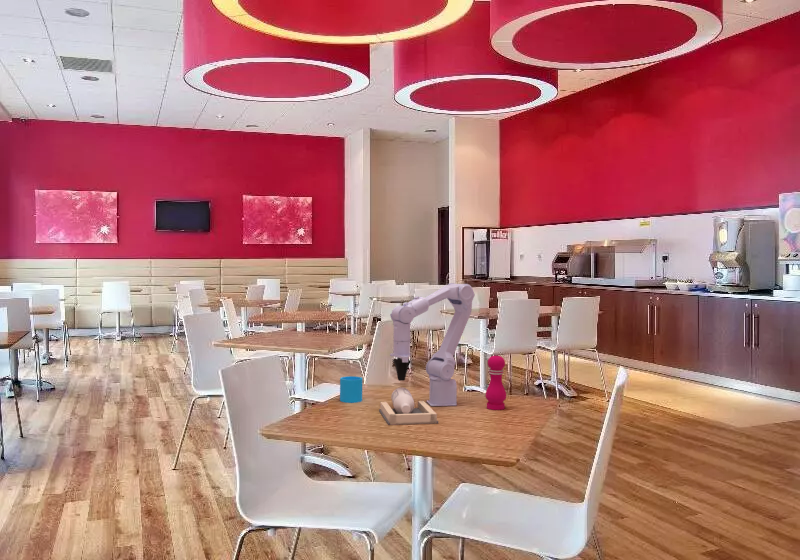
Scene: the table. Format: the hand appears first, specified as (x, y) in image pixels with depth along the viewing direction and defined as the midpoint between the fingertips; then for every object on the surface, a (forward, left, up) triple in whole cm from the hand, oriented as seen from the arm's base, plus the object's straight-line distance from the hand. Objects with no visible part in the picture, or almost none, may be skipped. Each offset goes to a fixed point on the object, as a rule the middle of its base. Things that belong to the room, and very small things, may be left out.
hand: (401, 380), depth 235 cm
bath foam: (0, -1, -6) cm, 6 cm away
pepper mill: (-33, +3, -10) cm, 35 cm away
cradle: (0, +12, -10) cm, 16 cm away
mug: (+15, -18, -10) cm, 26 cm away
